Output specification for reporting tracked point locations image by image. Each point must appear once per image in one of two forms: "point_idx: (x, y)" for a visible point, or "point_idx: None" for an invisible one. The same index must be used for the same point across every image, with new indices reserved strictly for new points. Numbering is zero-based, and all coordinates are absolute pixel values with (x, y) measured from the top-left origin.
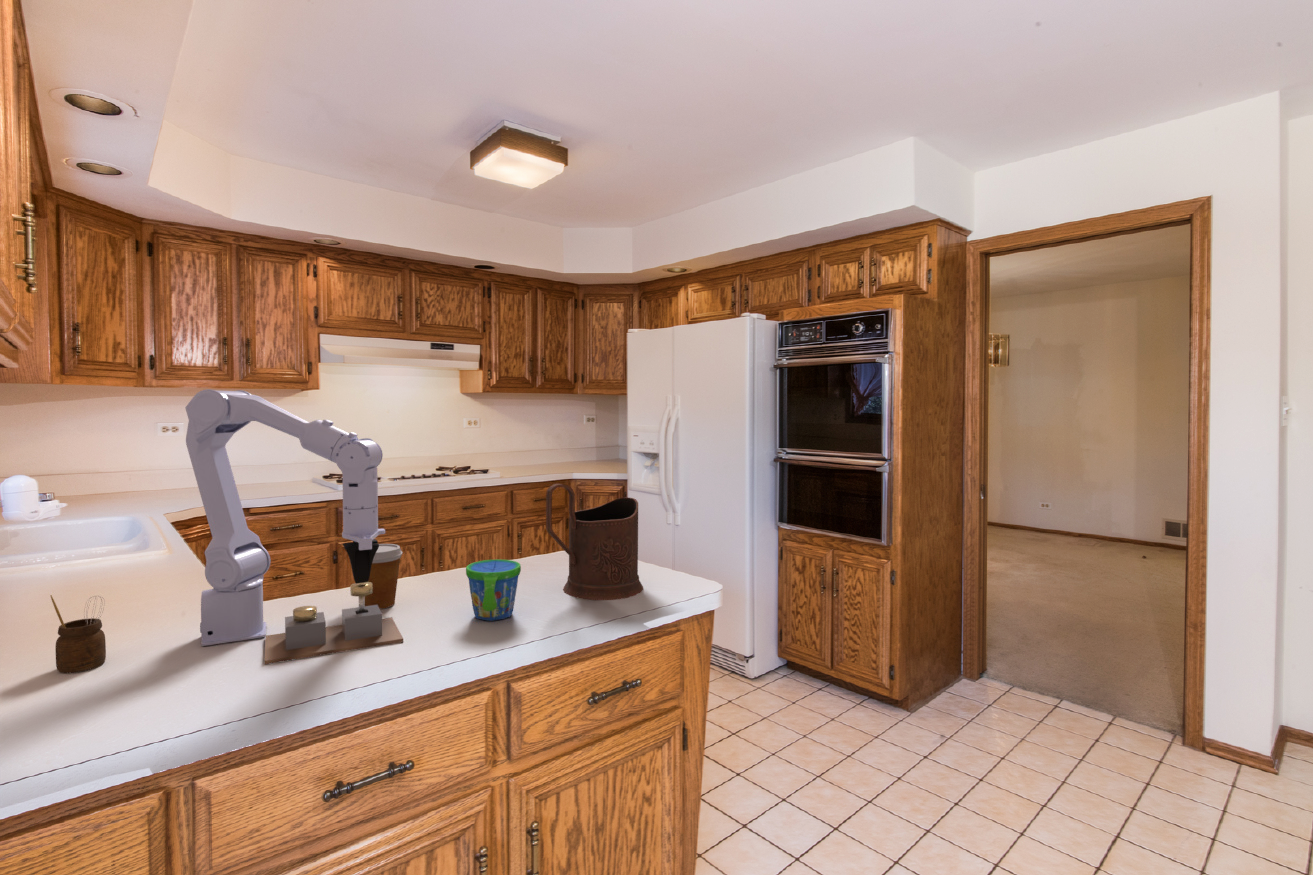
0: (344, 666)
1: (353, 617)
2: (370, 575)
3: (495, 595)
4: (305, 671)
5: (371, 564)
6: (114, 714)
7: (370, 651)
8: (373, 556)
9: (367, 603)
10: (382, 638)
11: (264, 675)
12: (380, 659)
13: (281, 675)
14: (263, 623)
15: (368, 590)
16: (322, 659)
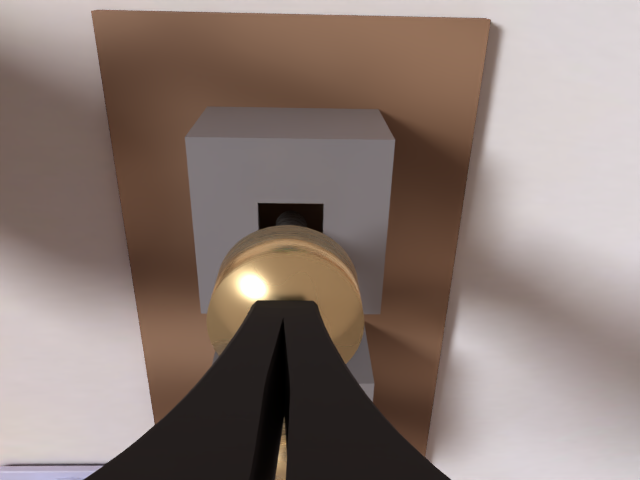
0: (606, 273)
1: (377, 278)
2: None
3: None
4: (560, 374)
5: (359, 386)
6: None
7: (513, 174)
8: (413, 452)
9: None
10: (429, 115)
11: (512, 458)
12: (634, 150)
13: (545, 425)
14: (9, 478)
15: (352, 271)
16: (483, 328)
